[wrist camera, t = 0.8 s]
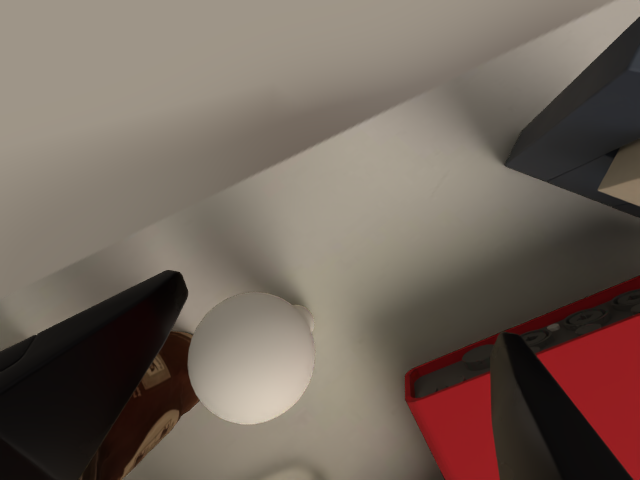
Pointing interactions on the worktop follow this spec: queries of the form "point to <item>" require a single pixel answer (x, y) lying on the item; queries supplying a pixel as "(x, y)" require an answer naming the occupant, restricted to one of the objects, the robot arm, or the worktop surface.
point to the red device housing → (564, 365)
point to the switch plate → (587, 125)
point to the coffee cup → (147, 412)
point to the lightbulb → (252, 357)
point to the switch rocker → (624, 174)
